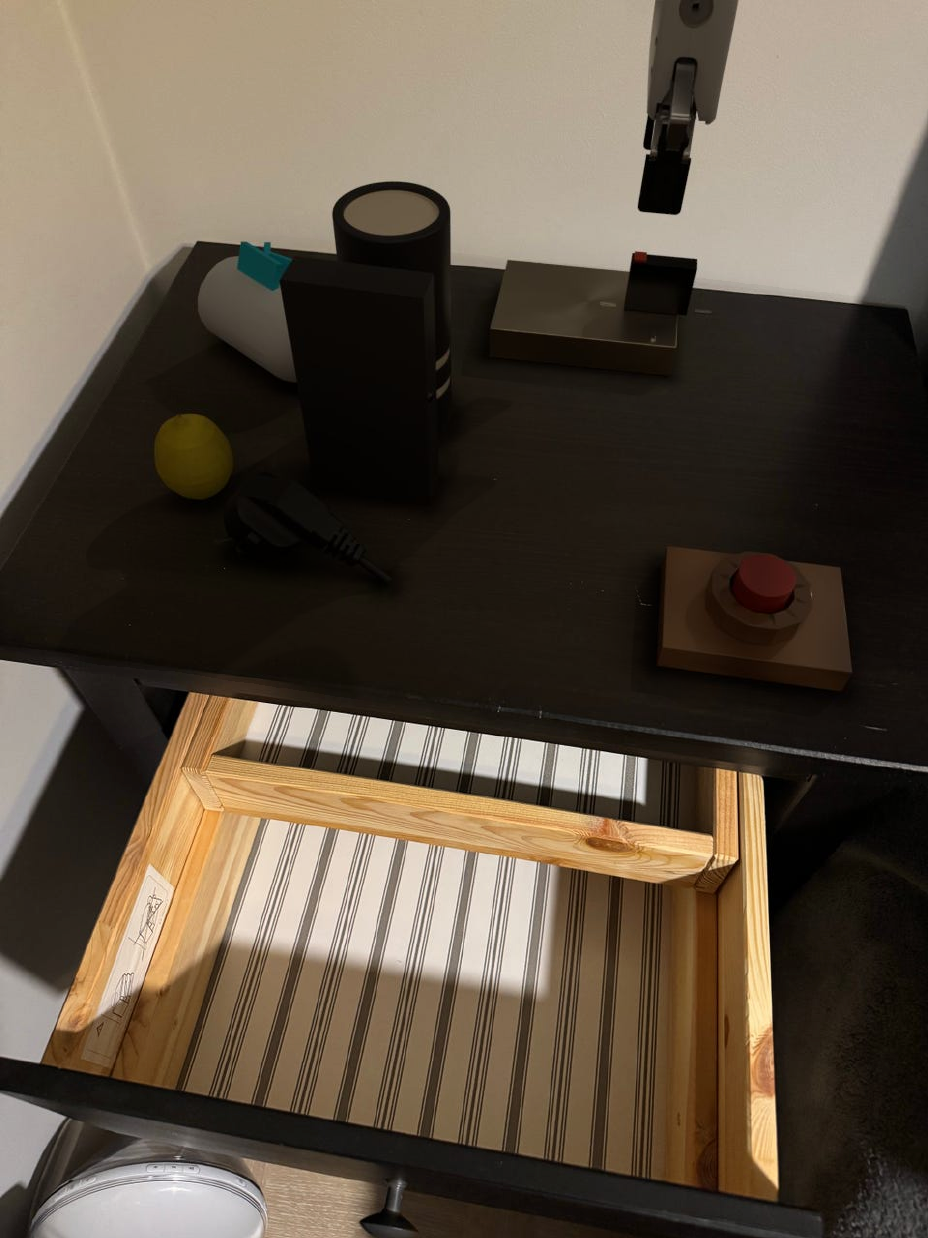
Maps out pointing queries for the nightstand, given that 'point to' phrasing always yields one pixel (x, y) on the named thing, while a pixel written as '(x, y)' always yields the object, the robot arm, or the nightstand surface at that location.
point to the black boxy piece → (660, 283)
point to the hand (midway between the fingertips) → (660, 179)
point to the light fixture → (376, 343)
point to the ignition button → (763, 583)
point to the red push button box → (751, 623)
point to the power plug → (288, 522)
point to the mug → (250, 307)
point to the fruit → (193, 456)
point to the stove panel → (578, 320)
